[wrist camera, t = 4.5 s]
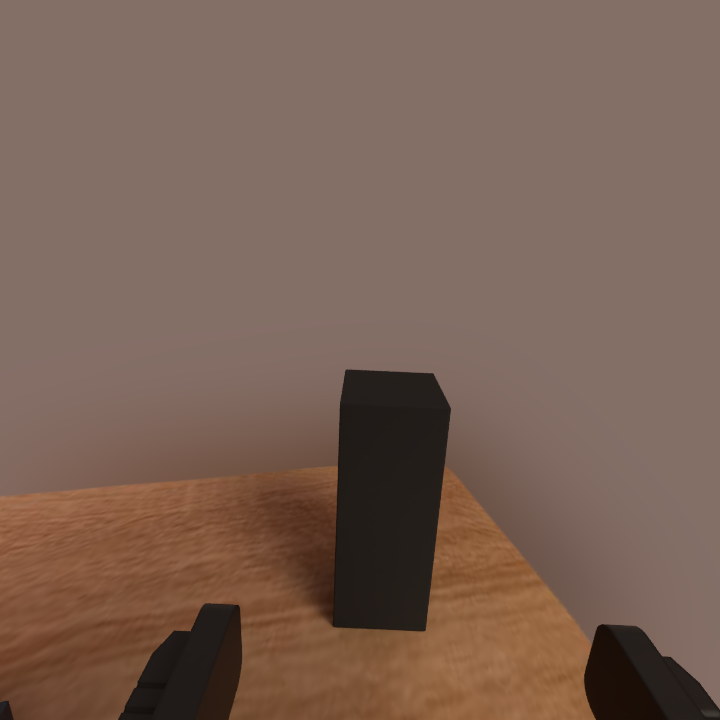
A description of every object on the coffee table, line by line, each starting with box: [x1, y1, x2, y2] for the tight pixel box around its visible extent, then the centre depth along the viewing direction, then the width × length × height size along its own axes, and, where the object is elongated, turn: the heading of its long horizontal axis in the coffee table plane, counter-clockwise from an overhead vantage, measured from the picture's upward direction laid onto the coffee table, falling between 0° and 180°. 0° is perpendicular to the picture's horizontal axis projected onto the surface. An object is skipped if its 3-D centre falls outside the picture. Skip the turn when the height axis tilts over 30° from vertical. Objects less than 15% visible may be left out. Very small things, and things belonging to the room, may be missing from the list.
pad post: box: [333, 370, 451, 631], centre depth 21 cm, size 5×5×12 cm
